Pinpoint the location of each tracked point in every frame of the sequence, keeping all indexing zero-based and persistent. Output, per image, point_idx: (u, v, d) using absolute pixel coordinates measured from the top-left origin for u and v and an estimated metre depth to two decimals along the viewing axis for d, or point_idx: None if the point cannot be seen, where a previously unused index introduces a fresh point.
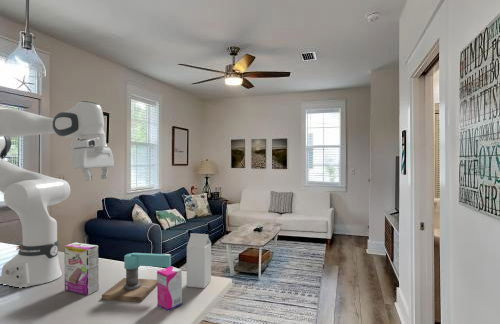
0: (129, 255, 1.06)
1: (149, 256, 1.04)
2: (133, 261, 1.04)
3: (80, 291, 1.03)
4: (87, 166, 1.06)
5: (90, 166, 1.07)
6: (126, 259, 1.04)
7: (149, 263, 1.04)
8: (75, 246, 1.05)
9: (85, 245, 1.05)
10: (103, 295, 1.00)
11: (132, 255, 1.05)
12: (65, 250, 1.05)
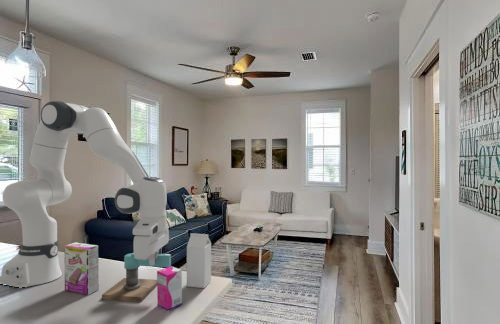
0: (129, 255, 1.06)
1: None
2: (133, 261, 1.04)
3: (80, 291, 1.03)
4: (148, 256, 0.95)
5: (150, 254, 0.97)
6: (126, 259, 1.04)
7: None
8: (75, 245, 1.05)
9: (85, 245, 1.06)
10: (103, 295, 1.00)
11: (132, 255, 1.05)
12: (65, 250, 1.05)
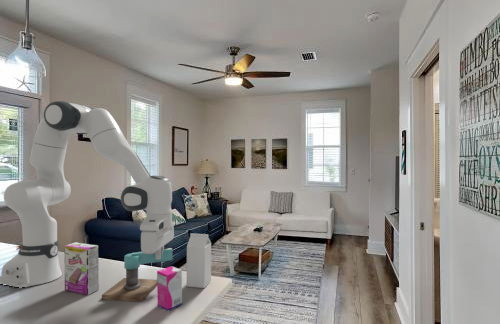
0: (129, 255, 1.05)
1: None
2: (137, 260, 1.05)
3: (80, 291, 1.03)
4: (154, 250, 1.00)
5: (157, 249, 1.02)
6: (130, 259, 1.03)
7: (152, 259, 1.08)
8: (75, 246, 1.05)
9: (85, 245, 1.06)
10: (103, 295, 1.00)
11: (134, 255, 1.05)
12: (65, 250, 1.05)
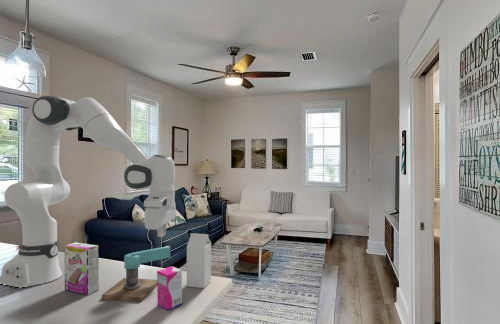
0: (129, 256, 1.05)
1: (151, 251, 1.09)
2: (138, 259, 1.05)
3: (80, 291, 1.03)
4: (158, 226, 1.02)
5: (160, 225, 1.04)
6: (131, 259, 1.03)
7: (152, 258, 1.09)
8: (75, 246, 1.05)
9: (86, 245, 1.06)
10: (103, 295, 1.00)
11: (134, 254, 1.06)
12: (65, 250, 1.05)
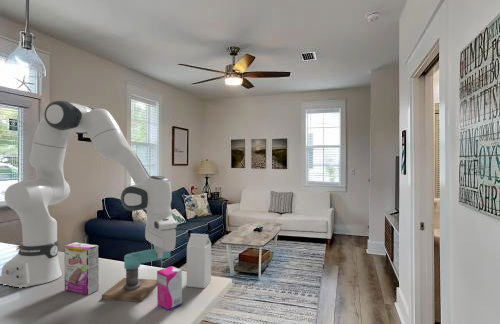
0: (129, 256, 1.05)
1: (151, 251, 1.09)
2: (138, 259, 1.05)
3: (80, 291, 1.03)
4: None
5: None
6: (131, 259, 1.03)
7: (152, 258, 1.10)
8: (75, 245, 1.05)
9: (86, 245, 1.06)
10: (103, 295, 1.00)
11: (134, 254, 1.06)
12: (65, 250, 1.05)
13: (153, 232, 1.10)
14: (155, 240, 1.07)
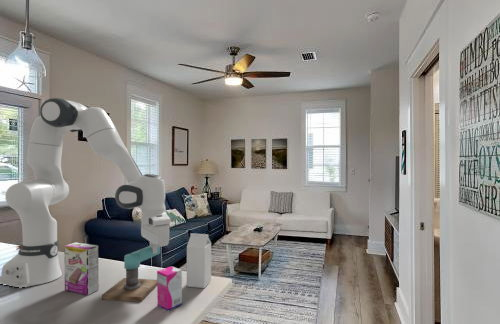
0: (130, 256, 1.05)
1: (147, 249, 1.12)
2: (139, 258, 1.06)
3: (80, 291, 1.03)
4: None
5: None
6: (135, 258, 1.04)
7: (147, 256, 1.12)
8: (75, 246, 1.05)
9: (85, 245, 1.06)
10: (103, 295, 1.00)
11: (135, 254, 1.06)
12: (65, 250, 1.05)
13: (148, 228, 1.13)
14: (150, 236, 1.11)
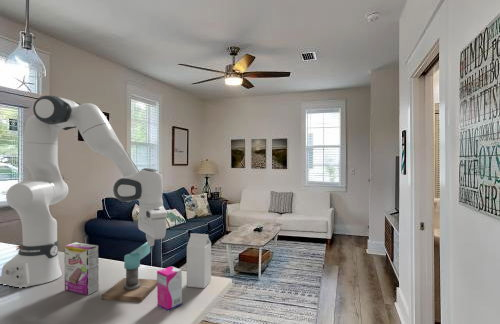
0: (131, 256, 1.05)
1: (142, 249, 1.13)
2: None
3: (80, 291, 1.03)
4: None
5: None
6: (137, 258, 1.05)
7: (142, 255, 1.13)
8: (75, 246, 1.05)
9: (86, 245, 1.06)
10: (103, 295, 1.00)
11: (135, 254, 1.06)
12: (65, 250, 1.05)
13: (145, 221, 1.16)
14: (147, 228, 1.14)
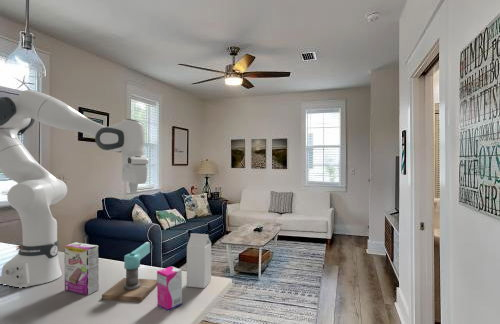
0: (131, 256, 1.05)
1: (142, 249, 1.13)
2: None
3: (80, 291, 1.03)
4: None
5: None
6: (137, 258, 1.05)
7: (142, 255, 1.13)
8: (75, 245, 1.05)
9: (86, 245, 1.06)
10: (103, 295, 1.00)
11: (135, 254, 1.06)
12: (65, 250, 1.05)
13: (128, 170, 1.20)
14: (129, 176, 1.18)
